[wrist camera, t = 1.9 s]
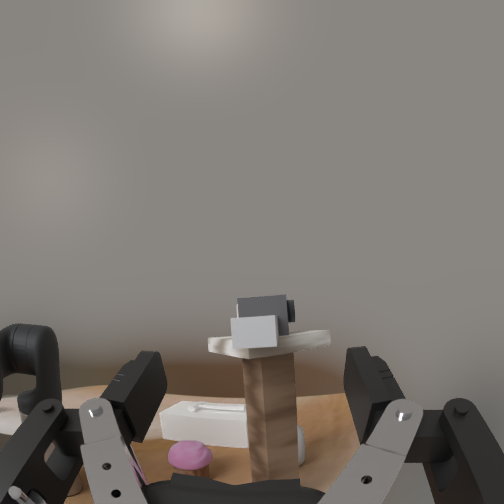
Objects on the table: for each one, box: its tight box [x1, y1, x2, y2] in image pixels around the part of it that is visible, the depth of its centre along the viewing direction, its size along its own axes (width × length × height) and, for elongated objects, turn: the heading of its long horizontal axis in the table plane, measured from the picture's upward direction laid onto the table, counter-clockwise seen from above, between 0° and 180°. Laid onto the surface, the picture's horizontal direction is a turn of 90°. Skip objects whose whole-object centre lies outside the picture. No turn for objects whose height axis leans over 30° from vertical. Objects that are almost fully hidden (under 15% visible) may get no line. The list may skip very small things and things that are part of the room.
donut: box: [297, 425, 305, 466], centre depth 52 cm, size 10×4×10 cm, turn 176°
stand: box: [208, 330, 331, 483], centre depth 34 cm, size 12×12×32 cm
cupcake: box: [168, 440, 213, 478], centre depth 45 cm, size 9×9×10 cm
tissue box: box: [159, 401, 249, 448], centre depth 72 cm, size 14×25×11 cm, turn 77°
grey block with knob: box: [231, 295, 295, 349], centre depth 32 cm, size 20×7×5 cm, turn 174°
